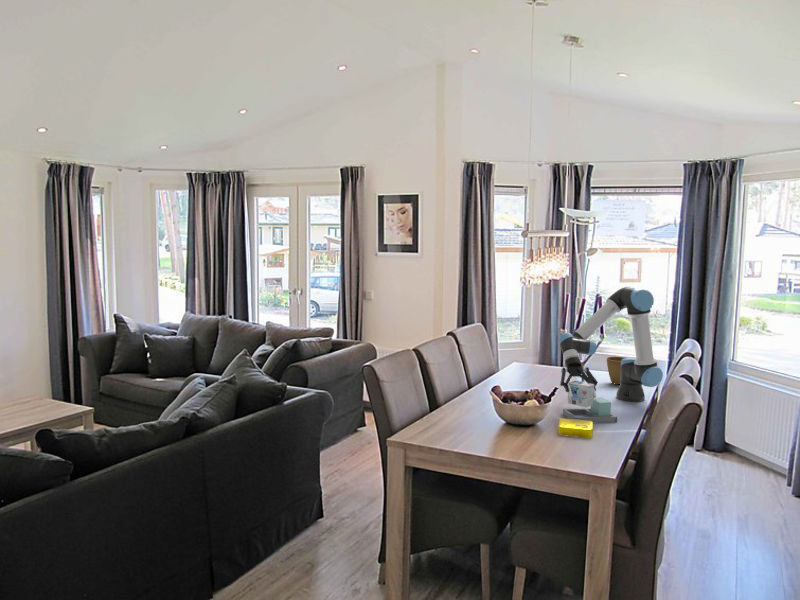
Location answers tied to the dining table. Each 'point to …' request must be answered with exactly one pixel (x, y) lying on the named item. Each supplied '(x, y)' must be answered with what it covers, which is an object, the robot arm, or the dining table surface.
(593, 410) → the teal block
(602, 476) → the dining table surface
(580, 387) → the light bulb box
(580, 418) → the tray
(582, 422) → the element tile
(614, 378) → the plant pot
